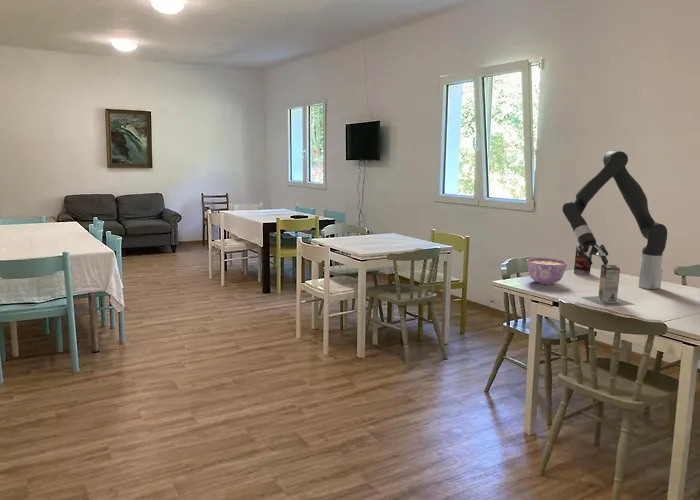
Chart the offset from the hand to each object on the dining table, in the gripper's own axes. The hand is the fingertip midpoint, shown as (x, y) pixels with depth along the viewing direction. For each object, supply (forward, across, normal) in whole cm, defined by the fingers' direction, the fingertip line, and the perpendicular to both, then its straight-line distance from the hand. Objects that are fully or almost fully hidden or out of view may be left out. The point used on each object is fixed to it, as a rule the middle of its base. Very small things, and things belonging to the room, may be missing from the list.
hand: (598, 264), depth 262 cm
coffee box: (+17, 0, +6) cm, 18 cm away
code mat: (+16, 0, +6) cm, 17 cm away
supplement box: (-22, +28, +44) cm, 56 cm away
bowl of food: (-10, -7, +33) cm, 35 cm away
